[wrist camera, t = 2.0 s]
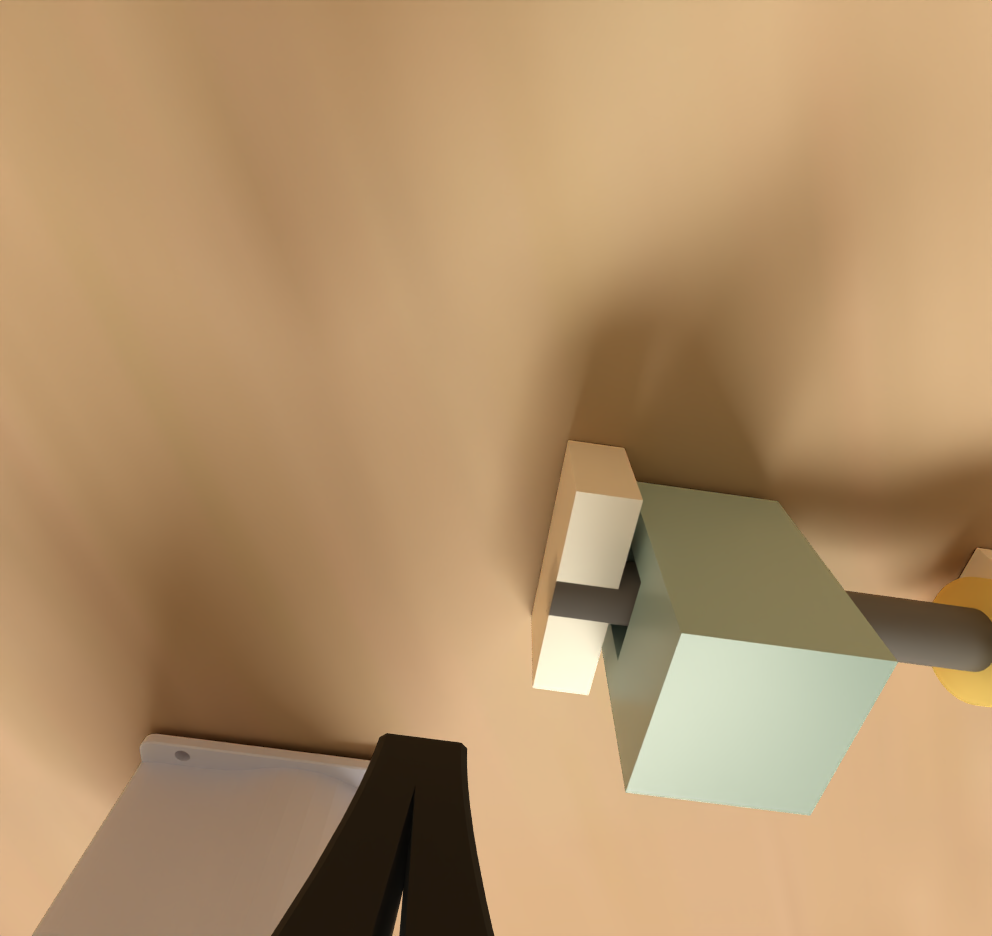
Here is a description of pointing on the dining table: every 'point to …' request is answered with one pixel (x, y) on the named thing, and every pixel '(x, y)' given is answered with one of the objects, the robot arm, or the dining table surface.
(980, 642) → the rod
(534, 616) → the cream rectangular block
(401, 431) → the dining table surface
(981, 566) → the cream block
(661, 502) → the sage green block
